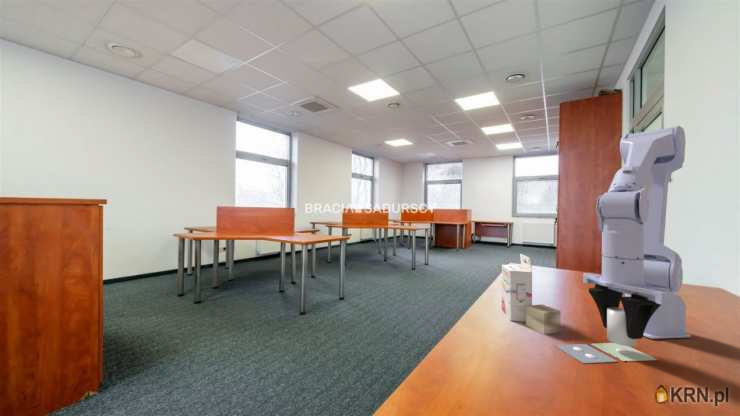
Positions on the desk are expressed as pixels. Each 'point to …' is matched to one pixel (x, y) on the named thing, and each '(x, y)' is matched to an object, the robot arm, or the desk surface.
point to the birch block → (543, 318)
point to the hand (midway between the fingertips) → (621, 332)
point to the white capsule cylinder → (618, 327)
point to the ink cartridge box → (517, 289)
